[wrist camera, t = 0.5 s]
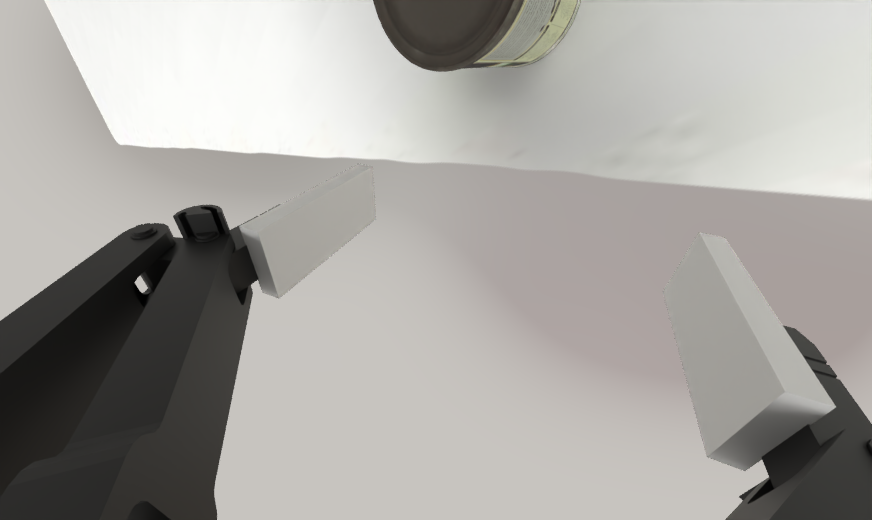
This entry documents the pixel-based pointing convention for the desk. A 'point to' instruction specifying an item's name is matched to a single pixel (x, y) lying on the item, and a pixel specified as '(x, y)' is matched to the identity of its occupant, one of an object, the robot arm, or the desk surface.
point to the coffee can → (475, 30)
